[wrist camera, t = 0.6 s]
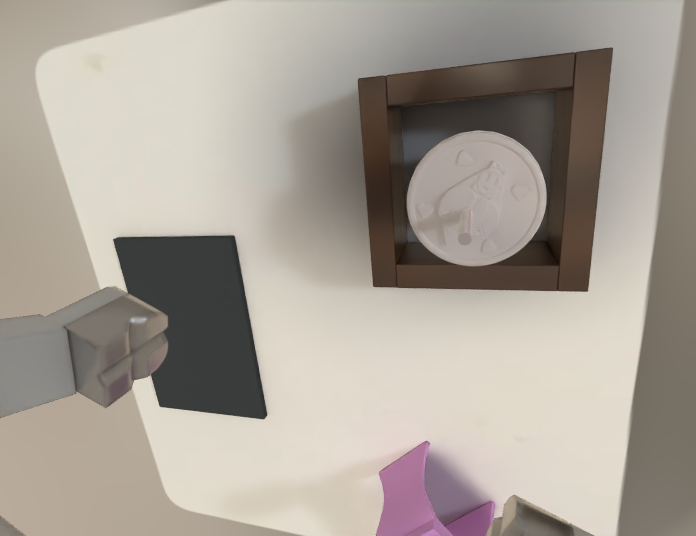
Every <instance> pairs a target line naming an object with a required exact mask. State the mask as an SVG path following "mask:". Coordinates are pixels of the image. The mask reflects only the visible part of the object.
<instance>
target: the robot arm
mask: <svg viewBox="0 0 696 536" xmlns="http://www.w3.org/2000/svg"><path fill="white" fill-rule="evenodd" d="M166 328H168V316H167V315H166V314H164V313H163V312H161V311H159V310H157V309H156V308H154V307H152V306H150V305H148V304H147V303H145V302H143V301H141V300H140V299H138V298H136V297H134V296H132V295H130V294H128V293H127V292H125V291H123V290H121V289H119V288H117V287H106V288H104V289H102V290H100V291H98V292H96V293H94V294H91V295H89V296H87V297H85V298H83V299H81V300H79V301H77V302H75V303H73V304H71V305H69V306H67V307H65V308H63V309H60V310H58V311H56V312H54V313H52V314H50V315H48V316H46V317H44V316H42V315H40V314H39V315H31V316H23V317H15V318H6V319H0V418H1V417H5V416H7V415H11V414H14V413H17V412H20V411H23V410H27V409H30V408H33V407H36V406H39V405H42V404H45V403H49V402H52V401H55V400H58V399H61V398H64V397H68V396H71V395H74V394H76V391H77V392H79V393H80V394H82V395H84V396H86V397H87V398H89V399H91V400H92V401H94V402H96V403H98V404H99V405H101V406H103V407H105V408H107V407H108V406H110V405H111V404H112V403H114V402H115V401H116V400H117V399H119V398H120V397H122V396H123V395H124V394H126V393H127V392H128V391H129V390H131V388H132V385H133V382H134V380H137V379H141V378H146V377H148V376H149V375H151V374H152V373H153V372H154V371H156V370H157V369H158V367H159V366H160V365H161V363H162V362H163V361H164V359H165V357H166V354H167V351H168V341H167V338H166V336H165V334H164V332H163V331H164V330H165V329H166ZM0 536H26V535H24V534H23V533H22V532H21V531H19V530H18V529H17V528H15V527H14V526H13V525H11V524H10V523H9V522H8V521H6V520H5V519H4V518H2V517H1V516H0ZM485 536H594V535H592V534H590V533H588V532H586V531H584V530H582V529H580V528H578V527H576V526H574V525H572V524H570V523H568V522H567V521H565V520H563V519H561V518H559V517H557V516H556V515H554V514H552V513H550V512H548V511H546V510H544V509H542V508H540V507H538V506H536V505H534V504H532V503H530V502H528V501H526V500H524V499H522V498H520V497H518V496H516V495H513V496H511V497H510V498H509V499H508V500H507V502H506V503H505V504H504V509H503V517H499V518H494V520H493V522H492V523H491V525H490V526H489V528H488V530H487V532H486V535H485Z"/></svg>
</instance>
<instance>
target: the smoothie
mask: <svg viewBox="0 0 696 536" xmlns="http://www.w3.org/2000/svg"><path fill="white" fill-rule="evenodd" d="M546 201H547V192H546V185H545V180H544V177H543V174H542V172H541V169H540V166H539V164H538V163H537V161H536V160H535V158H534V157H533V156H532V154H531V153H530V151H529V150H528V149H526V148H525V147H524V146H522V145H521V144H520V143H519V142H517V141H516V140H515V139H513V138H510V137H508V136H505V135H503V134H500V133H498V132H490V131H480V130H476V131H470V132H464V133H459V134H456V135H454V136H452V137H450V138H447V139H445V140H443V141H441V142H440V143H439V144H437V145H436V146H435V147H434V148H432V149H431V150H430V151H428V152H427V154H426V155H425V156H424V157H423V159H422V160H421V161H420V163H419V164H418V165H417V167H416V169H415V172H414V174H413V176H412V178H411V181H410V184H409V188H408V193H407V213H408V217H409V221H410V224H411V226H412V229H413V231H414V233H415V234H416V236H417V238H418V239H419V240H420V242H421V243H422V244H423V245H424V246H425V247H426V248H427V249H428V250H429V251H431V252H432V253H433V254H435V255H436V256H438V257H440V258H441V259H443V260H446V261H448V262H451V263H454V264H458V265H464V266H483V265H489V264H493V263H497V262H500V261H502V260H504V259H507V258H508V257H510V256H512V255H514V254H515V253H517V252H518V251H519V250H521V249H522V248H523V247H524V246H525V245H526V244H527V243H528V242H529V241H530V240H531V239H532V237H533V236H534V235H535V233H536V232H537V230H538V228H539V226H540V224H541V222H542V219H543V216H544V213H545V209H546Z"/></svg>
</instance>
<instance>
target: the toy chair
mask: <svg viewBox="0 0 696 536" xmlns="http://www.w3.org/2000/svg"><path fill="white" fill-rule="evenodd" d="M428 449H429V443H428V442H427V441H426V442H424V443H422V444H421V445H419V446H418V447H416V448H415V449H413V450H412V451H410V452H409V453H407V454H406V455H404V456H403V457H401V458H400V459H398V460H397V461H395V462H394V463H392V464H391V465H389V466H388V467H386V468H385V469H383V470H382V471H380V472H379V475H380V479H381V482H382V486H383V491H384V505H383V511H382V515H381V519H380V522H379V526H378V529H377V533H376V536H485V535H486V532H487V530H488V528H489V526H490V525H491V523H492V522H493V518H494V508H495V504H494V503H493V502H492V501H491V502H489V503H487V504H485V505H483V506H481V507H480V508H478V509H476V510H474V511H472V512H470V513H468V514H466V515H465V516H463V517H461V518H459V519H457V520H455V521H453V522H451V523H449V524H448V525H446V526H443V524H442V523H441V522H440V521H439V519H438V518H437V516H436V514H435V512H434V509H433V507H432V505H431V502H430V500H429V498H428V496H427V493H426V490H425V485H424V470H425V463H426V458H427V453H428Z"/></svg>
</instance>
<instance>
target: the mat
mask: <svg viewBox="0 0 696 536" xmlns="http://www.w3.org/2000/svg"><path fill="white" fill-rule="evenodd" d="M113 241H114V244H115V248H116V251H117V255H118V259H119V262H120V266H121V269H122V273H123V276H124V280H125V284H126V287H127V291H128V294H130V295H132V296H134V297H136V298H138V299H140V300H141V301H143V302H145V303H147V304H148V305H150V306H152V307H154V308H156V309H157V310H159V311H161V312H163V313H164V314H166V315H167V316H168V328H166V329H165V330H164V331H163V332H164V334H165V336H166V338H167V341H168V351H167V354H166V357H165V359H164V361H163V362H162V363H161V365H160V366H159V367H158V369H157V370H156V371H154V372H153V373H152V374H151V377H152V380H153V384H154V387H155V391H156V395H157V398H158V402H159V405H160V407H166V408H174V409H183V410H191V411H199V412H208V413H216V414H224V415H233V416H241V417H249V418H258V419H265V418H266V416H267V413H266V408H265V402H264V397H263V391H262V386H261V380H260V375H259V369H258V364H257V358H256V353H255V347H254V342H253V336H252V331H251V325H250V320H249V314H248V309H247V303H246V298H245V292H244V287H243V282H242V276H241V271H240V265H239V260H238V254H237V249H236V243H235V238H234V236H194V237H128V238H116V239H113Z"/></svg>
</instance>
